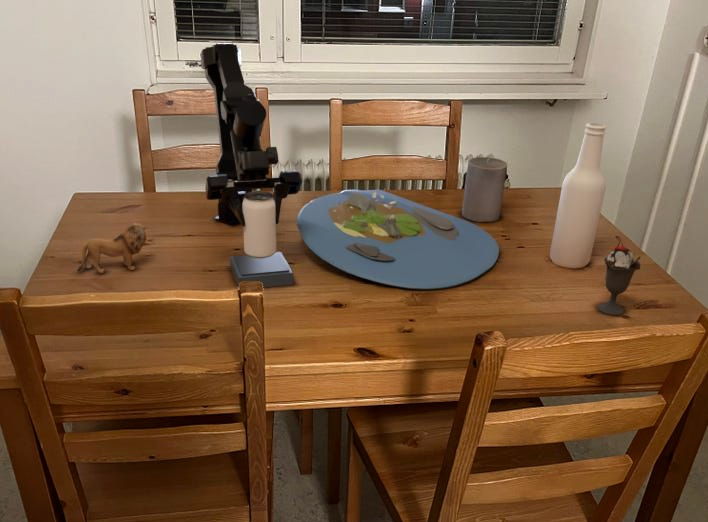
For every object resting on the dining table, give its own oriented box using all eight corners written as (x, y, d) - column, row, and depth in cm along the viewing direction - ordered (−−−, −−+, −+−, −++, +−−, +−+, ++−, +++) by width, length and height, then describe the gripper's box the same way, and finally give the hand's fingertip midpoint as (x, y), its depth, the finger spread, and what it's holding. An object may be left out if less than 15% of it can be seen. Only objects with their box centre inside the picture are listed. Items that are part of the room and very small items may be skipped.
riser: (230, 268, 156) (229, 254, 154) (281, 263, 159) (281, 250, 157) (239, 290, 147) (238, 276, 145) (293, 284, 150) (293, 271, 148)
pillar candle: (472, 206, 194) (479, 149, 186) (506, 215, 189) (515, 157, 181) (454, 216, 187) (461, 157, 179) (489, 225, 182) (497, 165, 174)
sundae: (587, 301, 148) (603, 231, 140) (620, 301, 148) (637, 231, 140) (600, 317, 142) (617, 244, 134) (633, 317, 143) (652, 244, 135)
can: (277, 258, 148) (276, 200, 142) (245, 259, 147) (242, 201, 141) (274, 245, 153) (273, 189, 147) (243, 246, 152) (241, 190, 146)
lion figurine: (146, 258, 158) (142, 218, 154) (152, 267, 154) (147, 227, 150) (75, 268, 153) (68, 227, 148) (79, 278, 149) (72, 236, 144)
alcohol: (546, 265, 163) (571, 126, 147) (551, 250, 170) (576, 117, 154) (587, 272, 160) (617, 131, 145) (590, 257, 167) (619, 122, 152)
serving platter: (525, 271, 172) (541, 223, 165) (408, 331, 144) (421, 276, 137) (383, 197, 194) (391, 152, 187) (257, 237, 166) (261, 186, 159)
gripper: (203, 133, 138) (215, 210, 135) (300, 129, 144) (314, 203, 141) (200, 162, 149) (212, 234, 146) (290, 157, 154) (303, 227, 151)
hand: (260, 224), depth 146 cm, fingers closed on can, 6 cm apart
